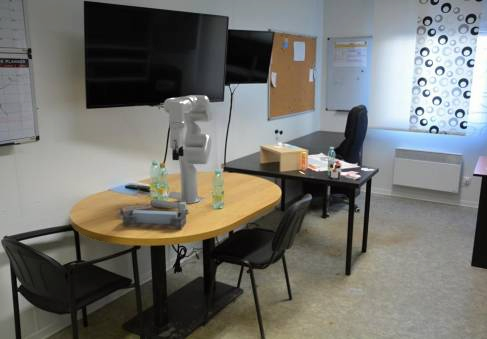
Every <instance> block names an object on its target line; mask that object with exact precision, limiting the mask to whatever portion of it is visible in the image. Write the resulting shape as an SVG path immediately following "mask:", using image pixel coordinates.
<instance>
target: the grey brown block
mask: <svg viewBox="0 0 487 339" xmlns="http://www.w3.org/2000/svg"><path fill="white" fill-rule="evenodd" d="M129 210H145V211H155V210H154V207H152V205H151V204H150V203H144V204H136V205H135V204H134V205H126V206H120V207H119V210H118V211H117V215H118V218H119V220H123V216H124V215H125V214H126V213H127V212H128V211H129Z"/></svg>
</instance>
